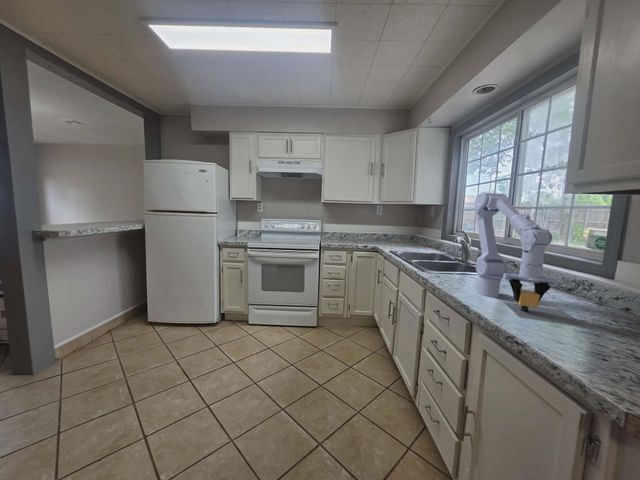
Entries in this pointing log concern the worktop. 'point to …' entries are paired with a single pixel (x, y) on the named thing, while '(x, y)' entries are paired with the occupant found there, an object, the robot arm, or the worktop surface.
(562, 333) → the worktop surface
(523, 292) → the orange block
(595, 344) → the worktop surface
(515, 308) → the plate
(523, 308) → the wire post
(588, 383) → the worktop surface
